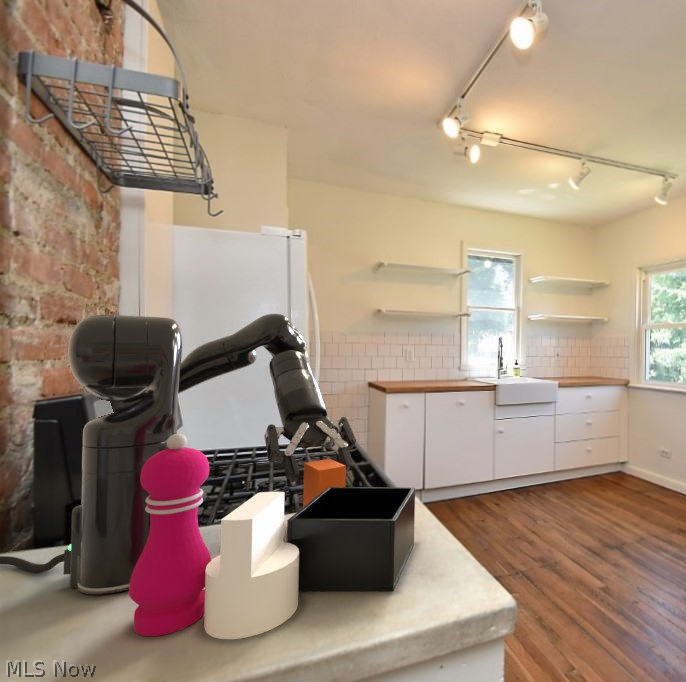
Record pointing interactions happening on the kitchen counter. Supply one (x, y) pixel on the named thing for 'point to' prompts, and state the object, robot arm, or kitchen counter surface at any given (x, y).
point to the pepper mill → (171, 542)
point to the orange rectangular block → (322, 477)
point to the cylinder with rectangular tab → (252, 571)
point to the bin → (353, 538)
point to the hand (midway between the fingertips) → (322, 474)
